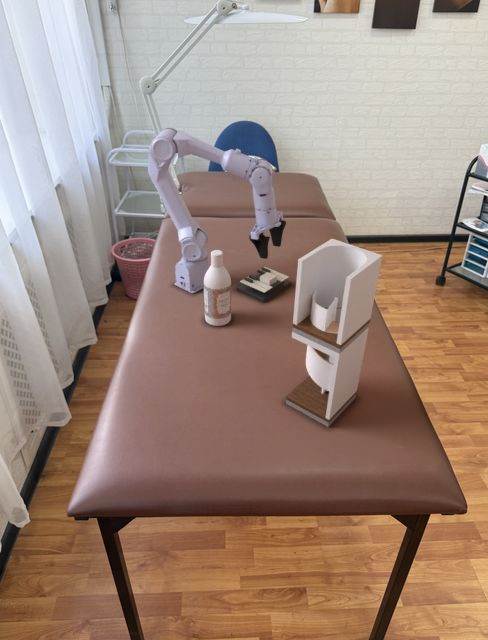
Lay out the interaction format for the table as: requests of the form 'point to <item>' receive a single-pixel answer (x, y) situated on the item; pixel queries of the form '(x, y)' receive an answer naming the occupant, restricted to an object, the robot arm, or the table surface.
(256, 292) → the toy piano
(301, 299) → the white tower
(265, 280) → the square cream block
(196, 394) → the table surface
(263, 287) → the piano keys trim
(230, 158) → the robot arm
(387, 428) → the table surface
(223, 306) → the bath foam
